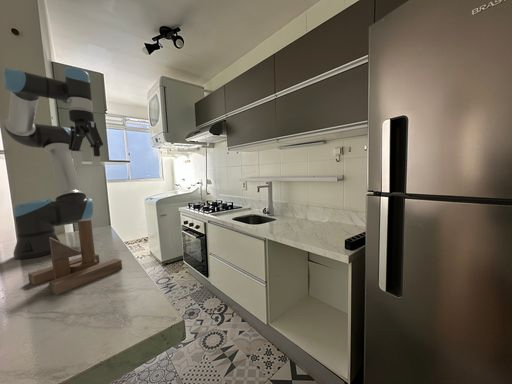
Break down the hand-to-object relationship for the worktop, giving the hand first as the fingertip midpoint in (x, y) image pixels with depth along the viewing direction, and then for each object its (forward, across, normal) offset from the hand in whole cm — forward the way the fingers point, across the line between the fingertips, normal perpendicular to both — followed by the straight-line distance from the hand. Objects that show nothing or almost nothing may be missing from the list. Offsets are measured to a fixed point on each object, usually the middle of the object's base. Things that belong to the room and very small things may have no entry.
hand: (87, 166), depth 86 cm
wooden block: (+37, +15, -13) cm, 42 cm away
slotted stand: (+37, +14, -13) cm, 42 cm away
